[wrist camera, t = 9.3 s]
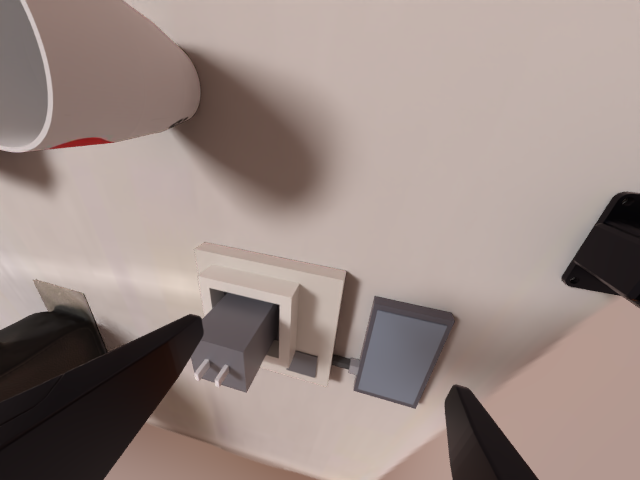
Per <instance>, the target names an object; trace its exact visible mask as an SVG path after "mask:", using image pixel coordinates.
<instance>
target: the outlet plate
mask: <svg viewBox="0 0 640 480" xmlns="http://www.w3.org/2000/svg"><path fill="white" fill-rule="evenodd" d="M194 253H195V259H196V265H197V271H198V282H199V288H200V294H201V300H202V306H203V312H204V317H205V316H206V315H207V314H208V313H209V312H210V311H211V310H212V309H213V307H214V306H215V305H216V304H217V303H218V302H219V301H220V300H221V299H222V298H223V297H224V296H225V295H226V294H227V293H228V292H229V293H233V294H237V295H241V296H245V297H249V298H253V299H258V300H262V301H266V302H270V303H274V304H278V305H277V335H276V337H275V339H274V341H273V343H272V345H271V347H270V349H269V351H268V353H267V354H266V356H265V358H264V360H263V362H262V364H261V366H260V368H262V369H266V370H269V371H273V372H276V373H279V374H283V375H286V376H290V377H293V378H296V379H300V380H303V381H307V382H310V383H313V384H317V385H320V386H323V387H327V386H328V381H329V377H330V371H331V365H332V359H333V352H334V346H335V340H336V334H337V327H338V321H339V315H340V309H341V302H342V296H343V290H344V284H345V277H346V271H344V270H339V269H334V268H329V267H324V266H320V265H315V264H310V263H305V262H300V261H295V260H290V259H285V258H280V257H275V256H270V255H265V254H260V253H256V252H251V251H246V250H241V249H236V248H231V247H226V246H221V245H216V244H211V243H206V242H204V243H203V244H201V245H199V246H198V247H196V248H195V249H194Z"/></svg>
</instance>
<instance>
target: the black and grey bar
mask: <svg viewBox="0 0 640 480" xmlns="http://www.w3.org/2000/svg"><path fill="white" fill-rule="evenodd" d="M359 362H360V360H358V359H354V358H351V359H348V358H344V357H340V356H337V355H334V357H333V362H332V365H334V366H338V367H341V368H345V369H349V372H348V373H351V374H354V375H357V373H358V369H359Z"/></svg>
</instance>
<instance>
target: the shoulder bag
mask: <svg viewBox="0 0 640 480" xmlns="http://www.w3.org/2000/svg"><path fill="white" fill-rule="evenodd" d="M33 281H34V284H35V286H36V288H37V289H38V292H39V294H40V296H41V298H42V300H43V302H44V303H45V306H46V308H47V310H48V312H40V313H35V314H32V315H30V316H28V317H26V318H24V319H22V320H20V321H18V322H16V323H14V324H12V325H10V326H8V327H6V328H4V329H2V330H0V402H2V401H4V400H6V399H9V398H11V397H13V396H16V395H18V394H20V393H22V392H24V391H27V390H29V389H31V388H33V387H35V386H38V385H40V384H42V383H44V382H46V381H48V380H51V379H53V378H55V377H57V376H59V375H61V374H63V375H64V374H65V373H66V372H68V371H70V370H72V369H74V368H76V367H78V366H80V365H83V364H85V363H87V362H89V361H91V360H93V359H95V358H97V357H100V356H102V355H104V354H106V353H107V351H106V349H105V346H104V343H103V341H102V338H101V336H100V334H99V331H98V329H97V326H96V323H95V321H94V318H93V316H92V313H91V311H90V309H89V306H88V304H87V301H86V298H85V297H84V294H83V293H80V292H76V291H73V290H70V289H66V288H63V287H59V286H57V285H53V284H50V283H47V282H42V281H39V280H33Z"/></svg>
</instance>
